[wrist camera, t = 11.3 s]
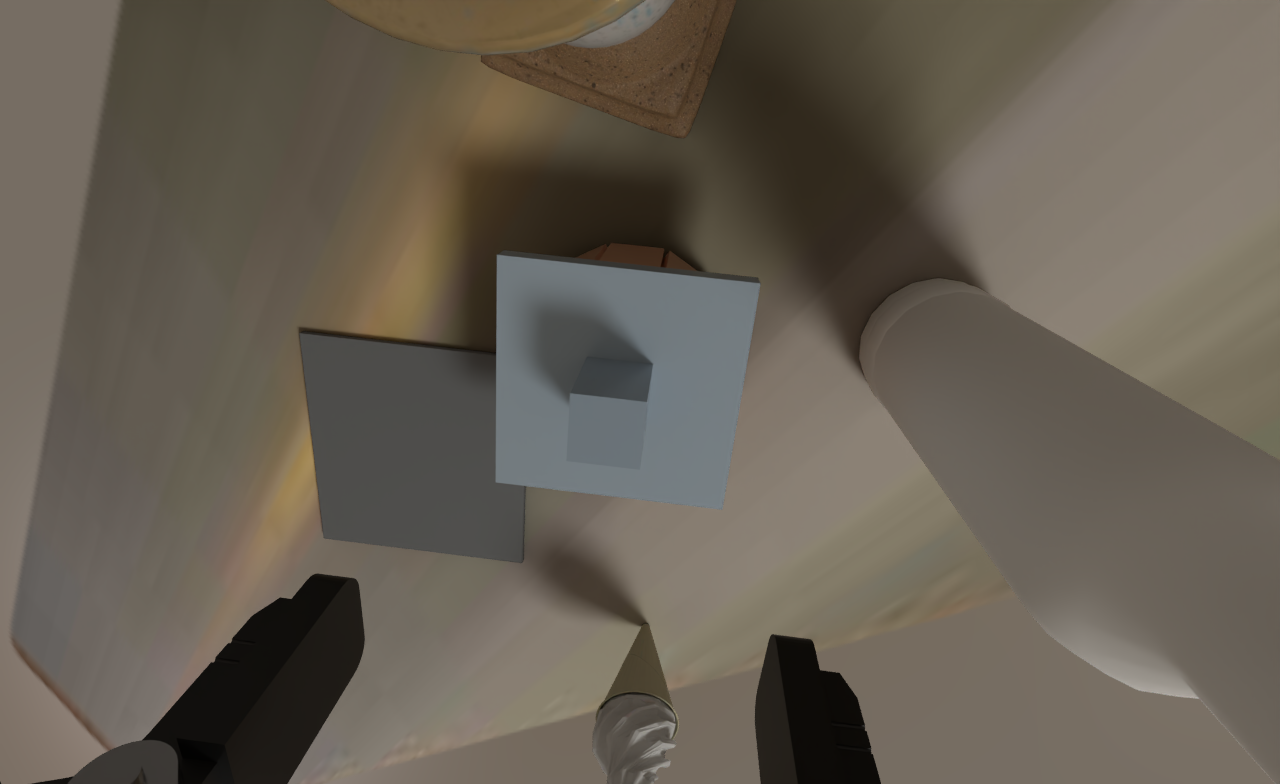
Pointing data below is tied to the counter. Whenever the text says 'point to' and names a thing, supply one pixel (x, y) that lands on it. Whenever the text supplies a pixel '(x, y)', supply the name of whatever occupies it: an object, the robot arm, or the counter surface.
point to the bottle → (1095, 500)
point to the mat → (409, 447)
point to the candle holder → (577, 47)
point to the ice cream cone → (636, 718)
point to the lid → (619, 376)
